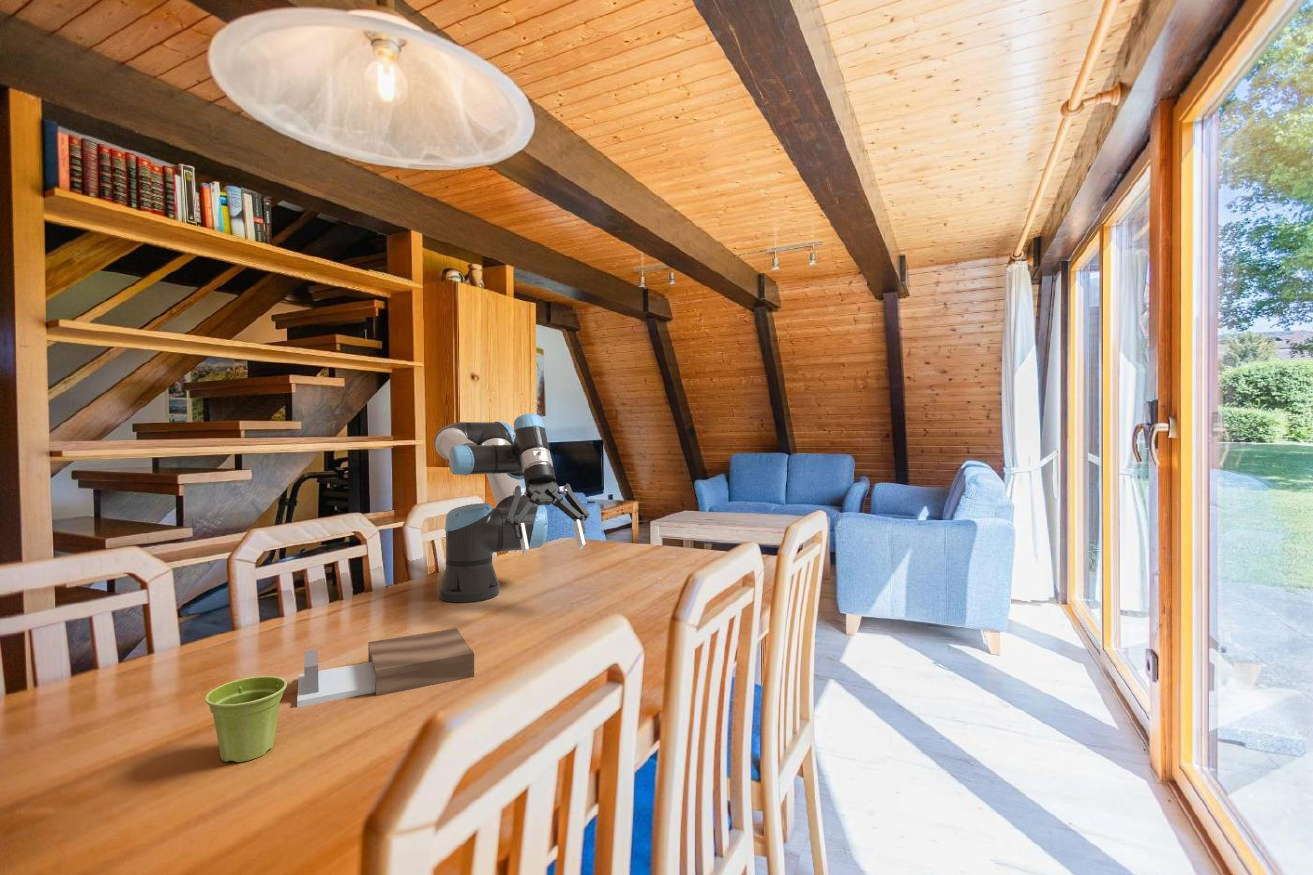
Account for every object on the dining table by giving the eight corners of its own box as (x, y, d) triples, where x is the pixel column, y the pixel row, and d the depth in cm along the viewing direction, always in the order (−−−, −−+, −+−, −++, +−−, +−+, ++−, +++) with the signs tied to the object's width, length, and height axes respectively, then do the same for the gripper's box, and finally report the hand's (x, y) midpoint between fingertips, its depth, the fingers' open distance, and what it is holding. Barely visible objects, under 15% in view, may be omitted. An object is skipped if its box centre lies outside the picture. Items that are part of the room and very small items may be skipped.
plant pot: (277, 727, 92) (276, 669, 92) (296, 752, 86) (295, 689, 85) (200, 751, 86) (199, 689, 86) (213, 779, 79) (212, 712, 79)
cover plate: (298, 682, 110) (298, 648, 109) (440, 657, 121) (440, 627, 121) (297, 710, 99) (296, 672, 99) (453, 679, 111) (452, 646, 110)
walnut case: (368, 664, 116) (368, 642, 116) (456, 649, 124) (456, 628, 124) (376, 695, 103) (375, 670, 103) (474, 676, 111) (474, 653, 111)
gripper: (490, 463, 145) (504, 546, 134) (589, 461, 157) (609, 537, 147) (484, 479, 150) (496, 561, 140) (580, 476, 162) (598, 551, 152)
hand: (554, 549), depth 143 cm, fingers open, 13 cm apart
